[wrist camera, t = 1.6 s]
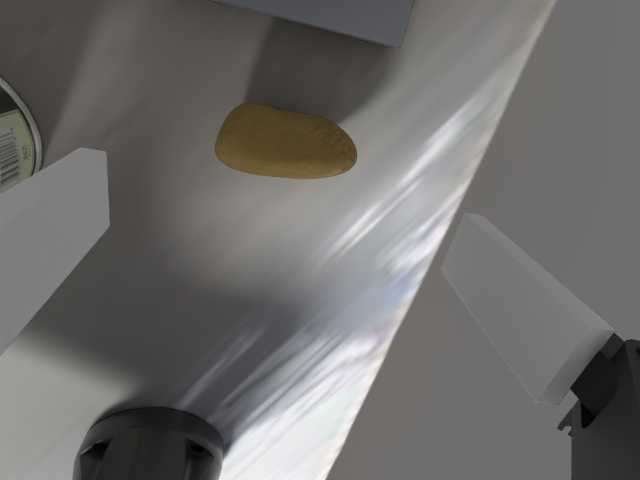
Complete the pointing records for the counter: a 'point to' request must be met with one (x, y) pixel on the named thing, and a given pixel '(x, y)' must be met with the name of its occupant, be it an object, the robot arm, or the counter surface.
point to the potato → (283, 143)
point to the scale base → (340, 16)
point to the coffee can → (17, 140)
